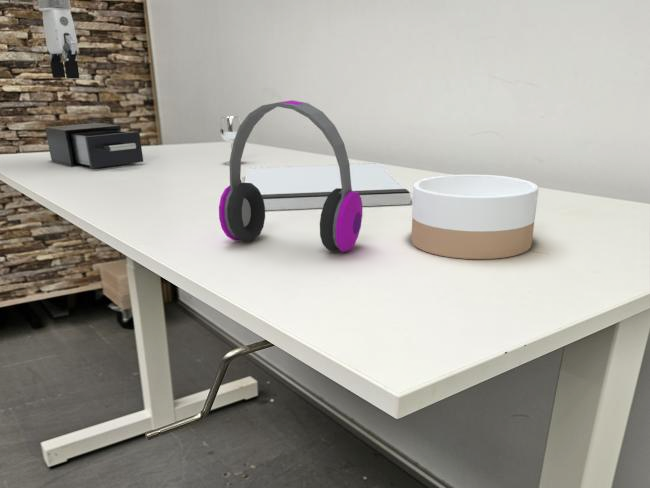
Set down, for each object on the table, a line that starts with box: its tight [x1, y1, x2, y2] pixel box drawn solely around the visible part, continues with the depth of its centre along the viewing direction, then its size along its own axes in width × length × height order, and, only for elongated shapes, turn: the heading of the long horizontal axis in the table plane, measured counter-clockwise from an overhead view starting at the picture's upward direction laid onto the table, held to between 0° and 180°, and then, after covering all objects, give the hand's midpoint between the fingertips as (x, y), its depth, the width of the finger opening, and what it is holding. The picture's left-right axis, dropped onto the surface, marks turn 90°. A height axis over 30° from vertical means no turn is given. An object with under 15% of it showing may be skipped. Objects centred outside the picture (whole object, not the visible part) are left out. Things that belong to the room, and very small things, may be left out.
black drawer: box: [69, 130, 144, 169], centre depth 161 cm, size 18×14×8 cm
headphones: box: [218, 99, 364, 253], centre depth 85 cm, size 21×9×20 cm, turn 66°
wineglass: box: [219, 115, 243, 166], centre depth 160 cm, size 6×6×12 cm
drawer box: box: [44, 122, 122, 168], centre depth 172 cm, size 15×16×10 cm
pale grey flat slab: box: [243, 162, 412, 211], centre depth 127 cm, size 35×2×31 cm
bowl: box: [411, 174, 539, 260], centre depth 87 cm, size 17×17×8 cm
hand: (66, 78), depth 159 cm, fingers open, 9 cm apart
